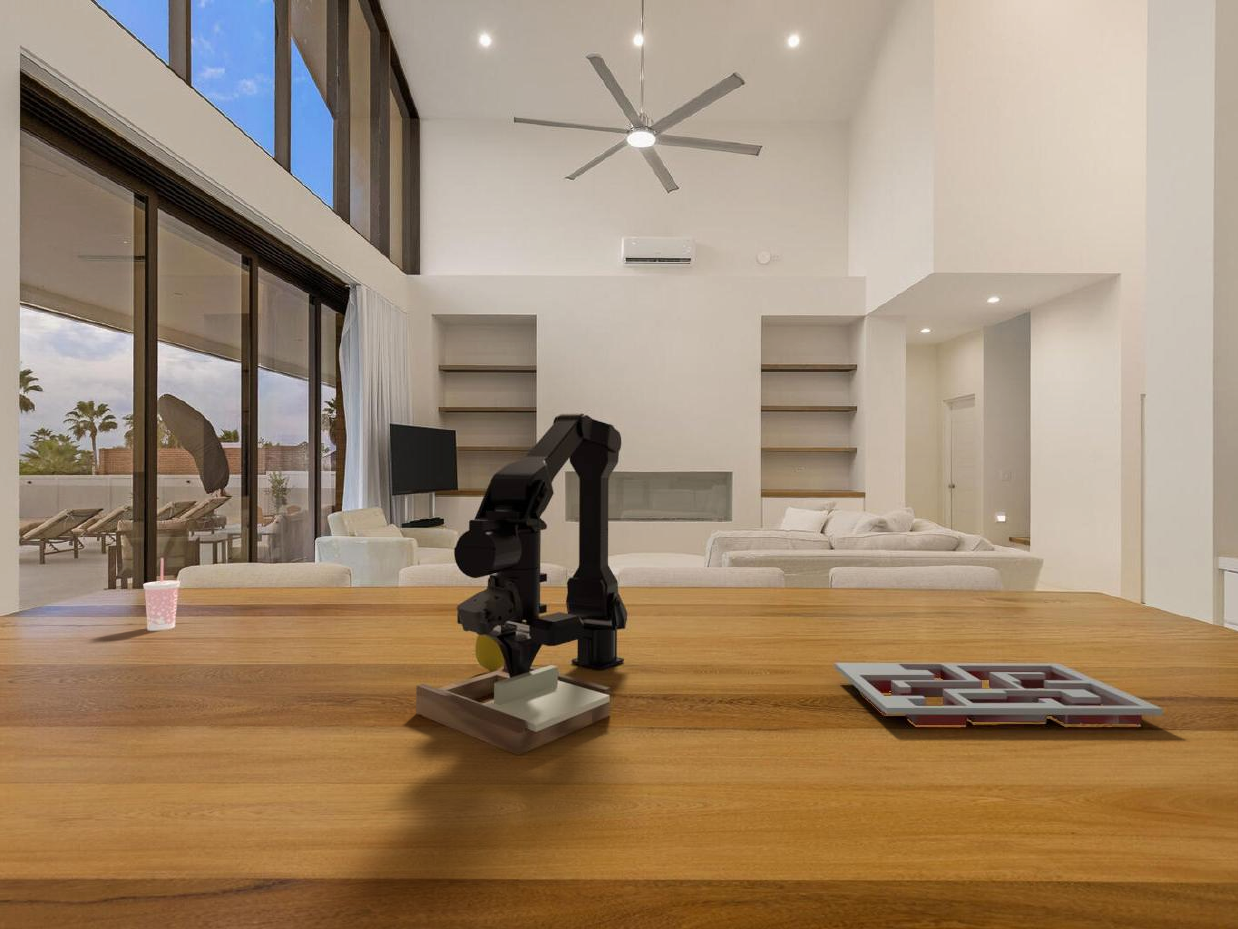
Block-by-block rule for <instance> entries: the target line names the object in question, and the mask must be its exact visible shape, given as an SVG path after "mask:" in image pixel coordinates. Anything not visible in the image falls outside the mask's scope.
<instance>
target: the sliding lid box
mask: <svg viewBox="0 0 1238 929" xmlns="http://www.w3.org/2000/svg"><path fill="white" fill-rule="evenodd" d="M540 668H541V667H537V666H534V665H531V667H530V669H529V672H531V671H534V670H537V669H540ZM508 678H510V676H509V673H508V670H507V667H506V663H505V661H504V666H503V668H500V669H497V671H494V672H489V673H484V674H481V675H478V676H474V677H471V678H468V679H465V680H461V681H457V682H455V683H452V684H448V685H444V686H441V687H437V688H436V687H434V686H431V685H428V684H424V683H420V684H418V685H416V693H415V695H416V701H415V702H416V705H415V706H416V707H415V708H416V709H415V711H416V712H415V714H416V713H417V715H419V714H420V715H419V716H421V715H422V716H421V717H424V718H426V719H428V720H431V721H434V722H436V723H438V724H441V725H443V726H446V727H448V728H451V729H452V730H455V731H458V732H460V733H463V734H465V735H467V736H470V737H472V738H475V739H478V740H480V741H482V742H485V743H487V744H489V745H492V746H494V747H497V748H498V749H501V750H504V751H507V752H509V753H511V754H514V755H516V756H518V757H519V756H521V755H525V754H526V753H528V752H531V751H532V750H535V749H538V748H539V747H542V746H544V745H547V744H549V743H552V742H553V741H555V740H558V739H561V738H562V737H565V736H567V735H569V734H571V733H573V732H577V731H578V730H581V729H583V728H586V727H588V726H589V725H590V726H591V725H593V724H595V723H596V722H599V721H601V720H603V719H605V718H609V717H610V716H611V711H610V710H611V701H610V702H607V703H605V704H603V705H600V706H598V707H595V708H593V709H590V710H588V711H586V712H583V713H581V714H578V715H576V716H573V717H571V718H569V719H566V720H564V721H561V722H559V723H556V724H554V725H552V726H549V727H547V728H544V729H542V730H539V731H537V732H535V731H532V730H530V729H527V728H526V720H523V719H520V718H517V717H515V716H512V715H509V714H506V713H503V712H501V711H498V710H495V709H492V708H490V707H487V706H484V705H481V704H483V703H482V702H479V701H477V699H480V698H483V697H486V696H488V694H489V695H492V694H494V683H495V682H499V681H502V680H505V679H508ZM558 681H562V682H565V683H569V684H572V685H576V686H579V687H583V688H586V689H589V690H593V691H596V692H600V693H603V694H607V695H610V696H611V687H609V686H605V685H602V684H598V683H594V682H591V681H587V680H584V679H580V678H577V677H572V676H569V675H565V674H562V673H558ZM491 693H492V694H491Z"/></svg>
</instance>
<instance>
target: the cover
mask: <svg viewBox="0 0 1238 929" xmlns="http://www.w3.org/2000/svg"><path fill="white" fill-rule="evenodd" d="M539 668H540V669H537V670H534V671H531V672H527V673H524V674H521V675H518V676H515V677H511V678H508V679H505V680H502V681H499V682H495V683H494V693H493V697H494V698H493V700H492V699H491V700H489V701H487V702H483V703H482V704H481V705H484V706H487V707H490V708H492V709H495V710H498V711H501V712H503V713H506V714H509V715H512V716H515V717H517V718H520V719H523V720H526V728H527V729H530V730H532V731H535V732H537V731H539V730H542V729H544V728H547V727H549V726H552V725H554V724H556V723H559V722H561V721H564V720H566V719H569V718H571V717H573V716H576V715H578V714H581V713H583V712H586V711H588V710H590V709H593V708H595V707H598V706H600V705H603V704H605V703H607V702H610V703H611V694H610V695H607V694H603V693H600V692H596V691H593V690H589V689H586V688H583V687H579V686H576V685H572V684H569V683H565V682H562V681H558V672H559V667H558V666H557V665H553V664H551V665H550V664H549V665H547V666H543V667H539Z"/></svg>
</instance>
